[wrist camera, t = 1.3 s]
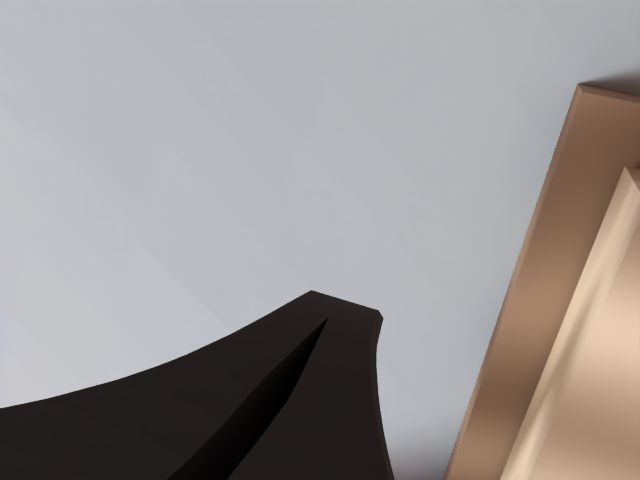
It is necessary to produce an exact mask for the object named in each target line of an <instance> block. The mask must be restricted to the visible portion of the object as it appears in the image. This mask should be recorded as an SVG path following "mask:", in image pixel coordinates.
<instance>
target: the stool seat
mask: <svg viewBox="0 0 640 480" xmlns="http://www.w3.org/2000/svg"><path fill="white" fill-rule="evenodd" d="M625 166H628V167H632V168H637V169H640V96H638V95H633V94H628V93H623V92H618V91H613V90H608V89H603V88H598V87H593V86H588V85H583V84H577V87H576V90H575V93H574V96H573V99H572V102H571V105H570V108H569V110H568V113H567V116H566V119H565V122H564V125H563V128H562V131H561V134H560V137H559V140H558V143H557V146H556V149H555V152H554V155H553V158H552V161H551V164H550V166H549V169H548V172H547V175H546V178H545V181H544V184H543V187H542V190H541V193H540V196H539V199H538V202H537V205H536V208H535V211H534V214H533V217H532V220H531V223H530V225H529V228H528V231H527V234H526V237H525V240H524V243H523V246H522V249H521V252H520V255H519V258H518V261H517V264H516V267H515V270H514V273H513V276H512V279H511V282H510V284H509V287H508V290H507V293H506V296H505V299H504V302H503V305H502V308H501V311H500V314H499V317H498V320H497V323H496V326H495V329H494V332H493V335H492V338H491V340H490V343H489V346H488V349H487V352H486V355H485V358H484V361H483V364H482V367H481V370H480V373H479V376H478V379H477V382H476V385H475V388H474V391H473V394H472V397H471V399H470V402H469V405H468V408H467V411H466V414H465V417H464V420H463V423H462V426H461V429H460V432H459V435H458V438H457V441H456V444H455V447H454V450H453V453H452V456H451V458H450V461H449V464H448V467H447V470H446V473H445V476H444V479H443V480H500V478H501V476H502V473H503V471H504V468H505V466H506V463H507V460H508V458H509V455H510V453H511V450H512V448H513V445H514V443H515V440H516V438H517V435H518V433H519V430H520V428H521V425H522V423H523V420H524V418H525V415H526V413H527V410H528V408H529V405H530V403H531V400H532V398H533V395H534V393H535V390H536V388H537V385H538V383H539V380H540V378H541V375H542V373H543V370H544V368H545V365H546V363H547V360H548V358H549V355H550V352H551V350H552V347H553V345H554V342H555V340H556V337H557V335H558V332H559V330H560V327H561V325H562V322H563V320H564V317H565V315H566V312H567V310H568V307H569V305H570V302H571V300H572V297H573V295H574V292H575V290H576V287H577V285H578V282H579V280H580V277H581V275H582V272H583V270H584V267H585V265H586V262H587V260H588V257H589V255H590V252H591V249H592V247H593V244H594V242H595V239H596V237H597V234H598V232H599V229H600V227H601V224H602V222H603V219H604V217H605V214H606V212H607V209H608V207H609V204H610V202H611V199H612V197H613V194H614V192H615V189H616V187H617V184H618V182H619V179H620V177H621V174H622V172H623V169H624V167H625Z"/></svg>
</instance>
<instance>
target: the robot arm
mask: <svg viewBox="0 0 640 480" xmlns="http://www.w3.org/2000/svg"><path fill="white" fill-rule="evenodd" d="M382 322H383V317H382V315H381V314H380V312H379V310H375V309H372V308H369V307H365V306H362V305H359V304H355V303H352V302H349V301H345V300H342V299H339V298H335V297H332V296H329V295H325V294H322V293H319V292H316V291H312V290H311V291H309V292H307V293H305V294H303V295H301V296H300V297H298V298H296V299H294V300H292V301H291V302H289V303H287V304H285V305H283V306H282V307H280V308H278V309H276V310H275V311H273V312H271V313H269V314H267V315H266V316H264V317H262V318H260V319H258V320H257V321H255V322H253V323H251V324H249V325H247V326H245V327H243V328H241V329H240V330H238V331H236V332H234V333H232V334H230V335H228V336H226V337H224V338H222V339H219V340H217V341H215V342H213V343H211V344H209V345H206V346H204V347H202V348H200V349H198V350H196V351H193V352H191V353H189V354H187V355H184V356H182V357H180V358H177V359H175V360H172V361H169V362H167V363H164V364H162V365H159V366H156V367H153V368H151V369H148V370H145V371H142V372H139V373H136V374H133V375H130V376H127V377H124V378H121V379H118V380H115V381H111V382H108V383H104V384H100V385H96V386H93V387H89V388H85V389H82V390H78V391H74V392H71V393H67V394H63V395H59V396H56V397H52V398H48V399H43V400H39V401H34V402H29V403H25V404H20V405H15V406H10V407H5V408H0V480H394V476H393V472H392V468H391V464H390V460H389V456H388V451H387V446H386V441H385V436H384V431H383V425H382V418H381V412H380V405H379V396H378V383H377V368H376V352H377V343H378V339H379V334H380V330H381V326H382Z"/></svg>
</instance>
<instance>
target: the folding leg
mask: <svg viewBox="0 0 640 480" xmlns="http://www.w3.org/2000/svg"><path fill="white" fill-rule="evenodd" d="M500 480H640V169H637V168H632V167H628V166H625V167H624V169H623V172H622V174H621V177H620V179H619V182H618V184H617V187H616V189H615V192H614V194H613V197H612V199H611V202H610V204H609V207H608V209H607V212H606V214H605V217H604V219H603V222H602V224H601V227H600V229H599V232H598V234H597V237H596V239H595V242H594V244H593V247H592V249H591V252H590V255H589V257H588V260H587V262H586V265H585V267H584V270H583V272H582V275H581V277H580V280H579V282H578V285H577V287H576V290H575V292H574V295H573V297H572V300H571V302H570V305H569V307H568V310H567V312H566V315H565V317H564V320H563V322H562V325H561V327H560V330H559V332H558V335H557V337H556V340H555V342H554V345H553V347H552V350H551V352H550V355H549V358H548V360H547V363H546V365H545V368H544V370H543V373H542V375H541V378H540V380H539V383H538V385H537V388H536V390H535V393H534V395H533V398H532V400H531V403H530V405H529V408H528V410H527V413H526V415H525V418H524V420H523V423H522V425H521V428H520V430H519V433H518V435H517V438H516V440H515V443H514V445H513V448H512V450H511V453H510V455H509V458H508V460H507V463H506V466H505V468H504V471H503V473H502V476H501V478H500Z"/></svg>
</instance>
